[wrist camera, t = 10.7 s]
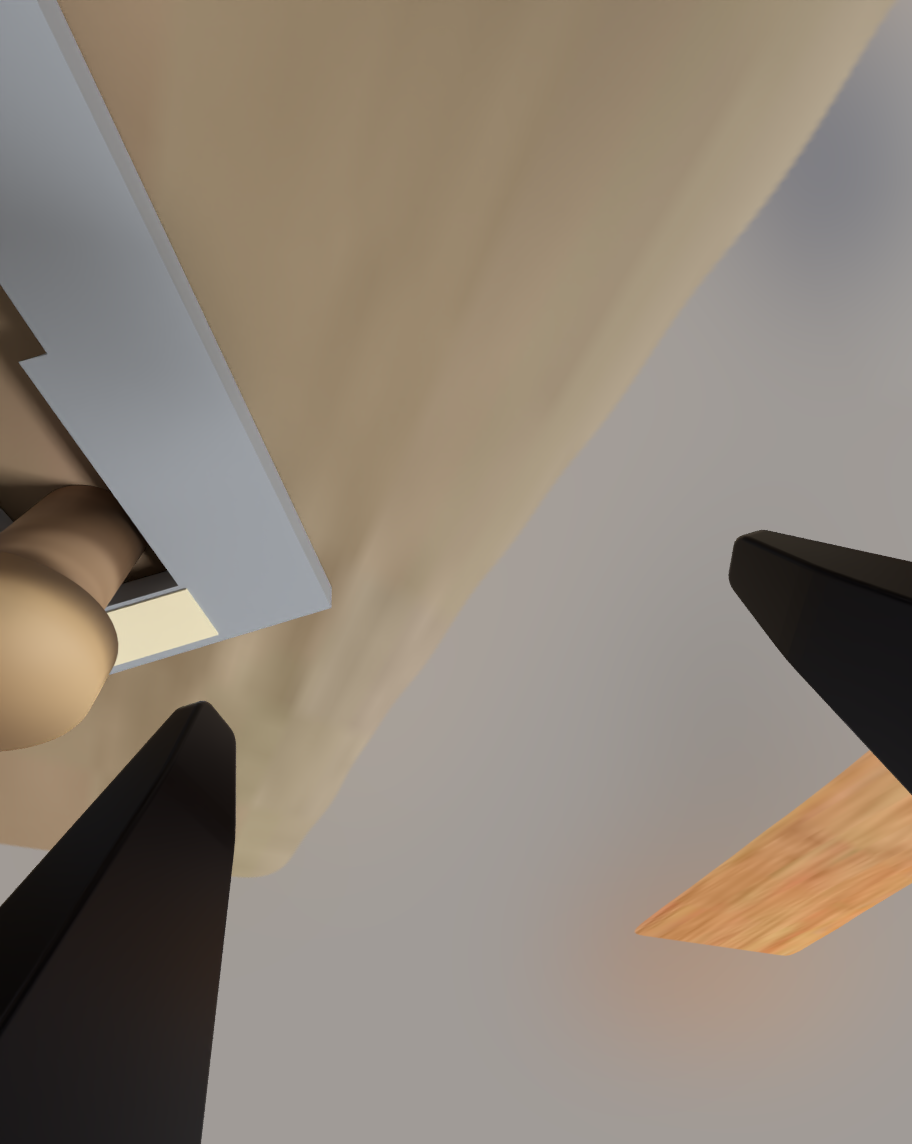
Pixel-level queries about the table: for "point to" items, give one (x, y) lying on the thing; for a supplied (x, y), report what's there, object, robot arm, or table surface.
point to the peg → (59, 610)
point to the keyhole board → (136, 362)
